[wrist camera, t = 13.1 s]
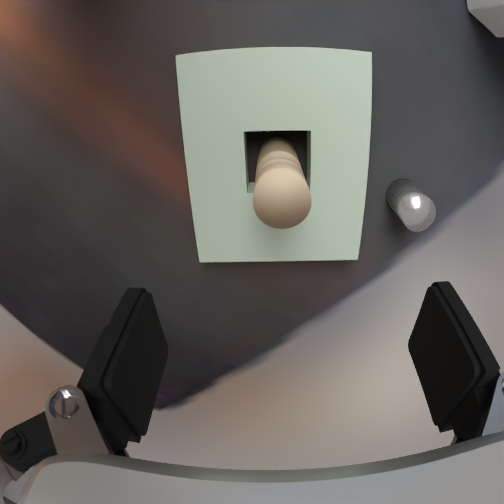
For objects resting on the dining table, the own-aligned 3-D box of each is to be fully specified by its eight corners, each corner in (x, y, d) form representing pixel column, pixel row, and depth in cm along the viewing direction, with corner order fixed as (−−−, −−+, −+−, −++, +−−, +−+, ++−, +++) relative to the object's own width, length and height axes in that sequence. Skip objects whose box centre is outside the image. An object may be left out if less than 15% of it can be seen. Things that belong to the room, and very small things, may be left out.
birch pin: (257, 136, 28) (251, 175, 18) (295, 136, 28) (312, 174, 18) (259, 172, 30) (254, 229, 20) (295, 171, 30) (310, 228, 20)
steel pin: (387, 177, 30) (406, 196, 25) (417, 179, 29) (438, 197, 25) (384, 209, 31) (400, 231, 27) (412, 210, 31) (431, 231, 27)
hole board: (184, 56, 24) (175, 55, 22) (361, 54, 23) (371, 52, 21) (204, 247, 35) (199, 262, 32) (351, 244, 34) (357, 259, 31)
